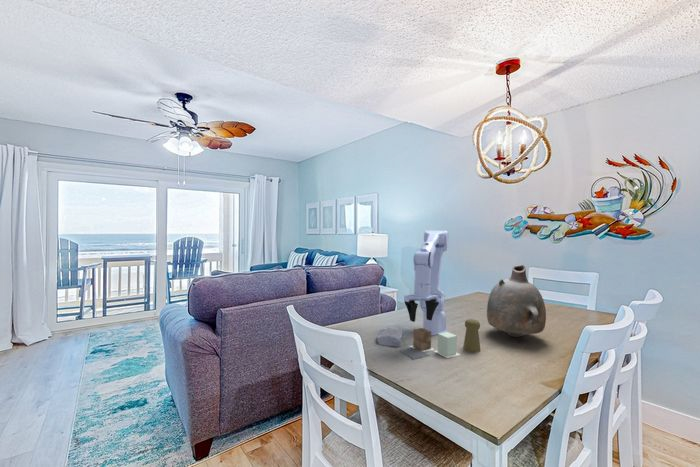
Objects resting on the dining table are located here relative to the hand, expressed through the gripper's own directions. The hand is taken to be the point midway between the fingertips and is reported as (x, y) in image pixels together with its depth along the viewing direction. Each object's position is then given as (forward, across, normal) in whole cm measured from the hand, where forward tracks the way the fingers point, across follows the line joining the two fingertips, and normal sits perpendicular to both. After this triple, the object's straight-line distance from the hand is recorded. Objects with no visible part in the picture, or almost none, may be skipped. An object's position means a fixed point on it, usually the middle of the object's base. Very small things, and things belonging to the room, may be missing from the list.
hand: (420, 320), depth 113 cm
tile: (+10, +6, -7) cm, 14 cm away
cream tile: (+10, +1, 0) cm, 10 cm away
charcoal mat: (+11, -5, -3) cm, 12 cm away
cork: (+10, +18, -8) cm, 22 cm away
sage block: (+10, +6, -7) cm, 14 cm away
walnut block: (+10, +1, 0) cm, 10 cm away
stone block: (+11, -6, +11) cm, 17 cm away
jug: (+8, +44, -5) cm, 45 cm away
